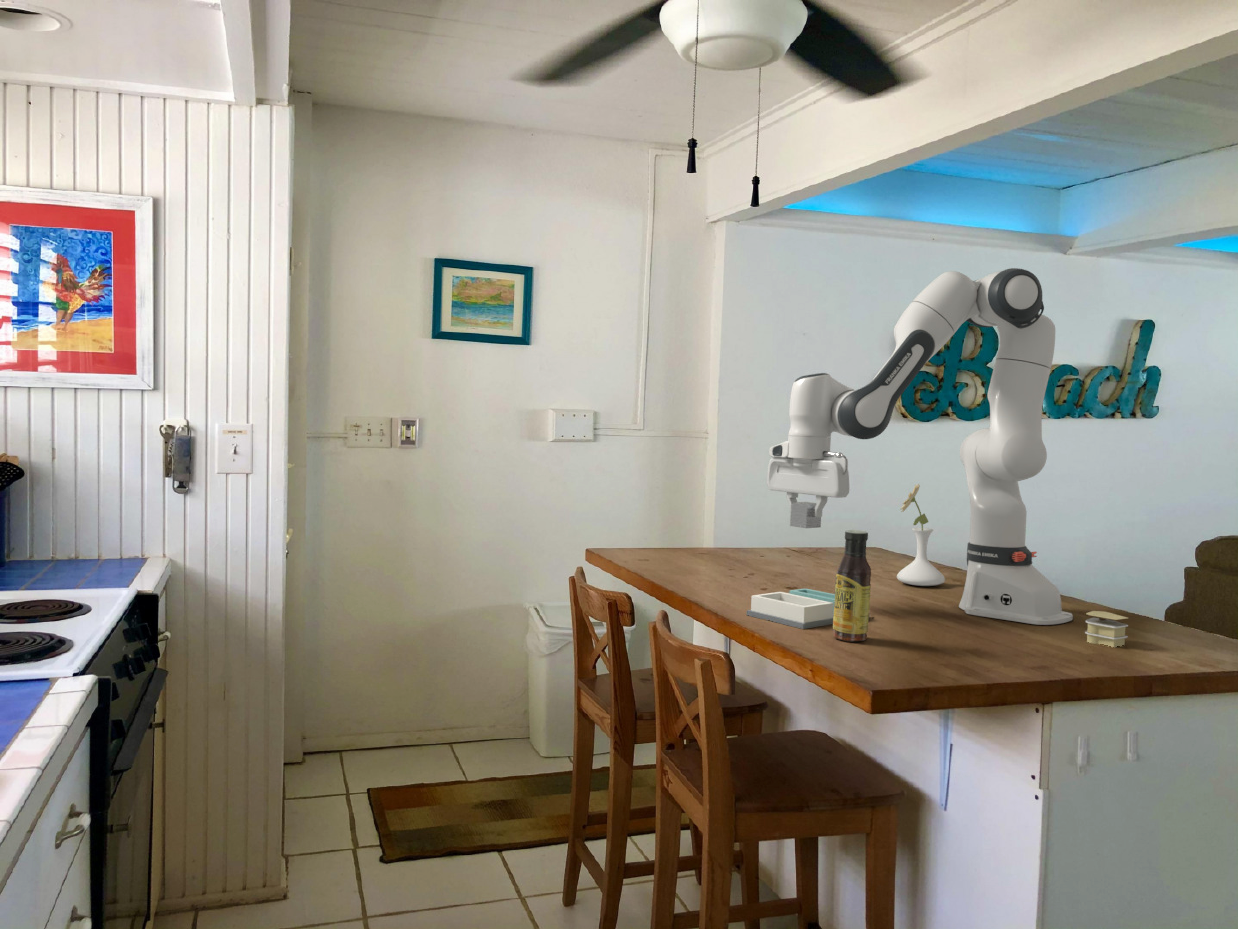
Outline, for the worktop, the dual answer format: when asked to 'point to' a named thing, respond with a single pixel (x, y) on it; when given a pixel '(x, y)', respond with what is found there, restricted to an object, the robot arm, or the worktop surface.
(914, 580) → the flower in vase
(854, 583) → the sauce bottle
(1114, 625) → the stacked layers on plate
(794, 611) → the holder
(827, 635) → the worktop surface
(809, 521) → the steel block
